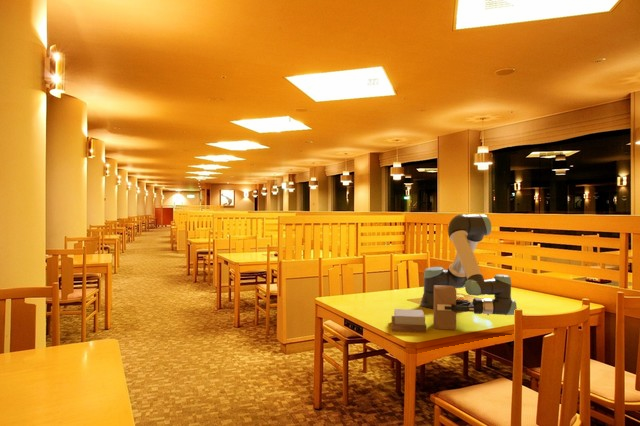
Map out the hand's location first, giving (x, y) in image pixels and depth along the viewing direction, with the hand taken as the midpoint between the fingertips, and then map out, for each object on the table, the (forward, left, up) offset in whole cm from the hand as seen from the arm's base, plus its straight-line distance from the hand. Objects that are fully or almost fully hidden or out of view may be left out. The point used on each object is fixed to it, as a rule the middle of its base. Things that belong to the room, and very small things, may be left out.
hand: (435, 304), depth 204 cm
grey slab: (+4, -13, -8) cm, 16 cm away
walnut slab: (+4, -14, -12) cm, 19 cm away
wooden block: (0, +4, -11) cm, 12 cm away
